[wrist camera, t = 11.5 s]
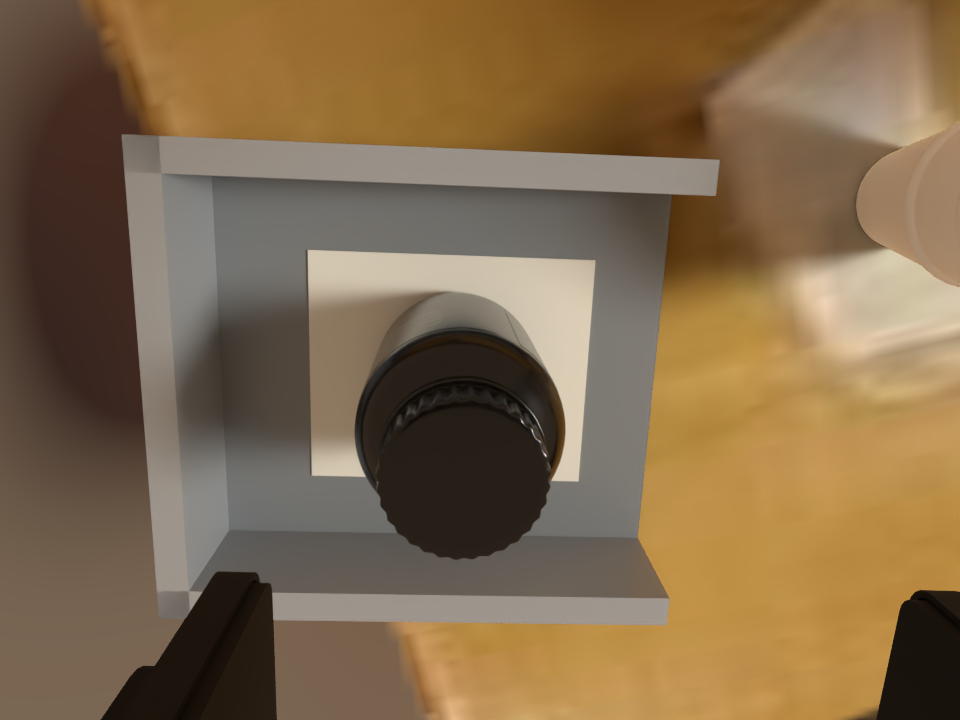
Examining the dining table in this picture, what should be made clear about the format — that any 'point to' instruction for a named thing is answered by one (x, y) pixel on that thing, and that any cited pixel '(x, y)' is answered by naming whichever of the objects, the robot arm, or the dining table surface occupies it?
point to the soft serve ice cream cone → (917, 203)
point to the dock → (352, 350)
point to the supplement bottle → (459, 427)
